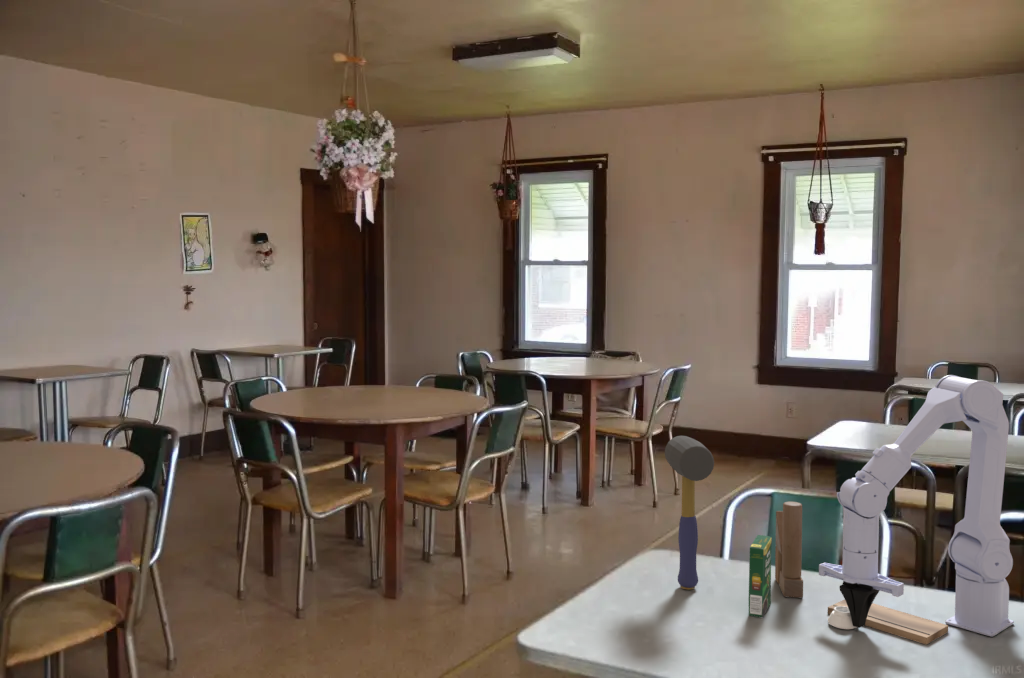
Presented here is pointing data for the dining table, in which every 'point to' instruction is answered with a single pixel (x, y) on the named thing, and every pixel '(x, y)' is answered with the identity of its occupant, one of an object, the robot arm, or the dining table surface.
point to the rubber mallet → (688, 499)
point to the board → (901, 623)
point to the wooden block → (789, 549)
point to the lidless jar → (841, 618)
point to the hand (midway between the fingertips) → (858, 625)
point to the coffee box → (760, 576)
